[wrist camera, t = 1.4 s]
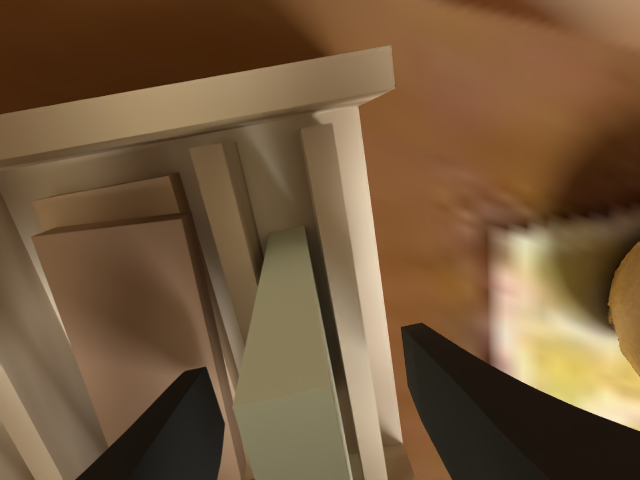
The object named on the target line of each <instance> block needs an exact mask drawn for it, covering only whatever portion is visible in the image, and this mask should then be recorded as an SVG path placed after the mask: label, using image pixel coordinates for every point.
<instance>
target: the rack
mask: <svg viewBox="0 0 640 480" xmlns="http://www.w3.org/2000/svg"><path fill="white" fill-rule="evenodd" d="M393 89H395V81H394V71H393V61H392V51H391V45H390V46H384V47H378V48H373V49H367V50H361V51H356V52H350V53H345V54H339V55H333V56H328V57H322V58H316V59H311V60H305V61H299V62H294V63H288V64H282V65H277V66H271V67H265V68H260V69H254V70H248V71H243V72H237V73H231V74H226V75H220V76H214V77H209V78H203V79H197V80H192V81H186V82H180V83H175V84H169V85H164V86H158V87H152V88H147V89H141V90H135V91H130V92H124V93H118V94H113V95H107V96H101V97H96V98H90V99H84V100H79V101H73V102H67V103H62V104H56V105H50V106H45V107H39V108H33V109H28V110H22V111H16V112H11V113H5V114H0V480H75V479H76V478H77V477H78V476H80V475H81V474H82V473H83V472H84V471H85V470H86V469H87V468H88V467H89V466H90V465H91V464H92V463H93V462H94V461H95V460H96V459H98V458H99V457H100V456H101V455H102V454H103V453H104V452H105V451H106V450H107V449H108V448H109V447H108V445H107V442H106V439H105V437H104V434H103V431H102V428H101V426H100V423H99V420H98V418H97V415H96V412H95V409H94V407H93V404H92V401H91V399H90V396H89V393H88V390H87V388H86V385H85V382H84V380H83V377H82V374H81V371H80V369H79V366H78V363H77V361H76V358H75V355H74V352H73V350H72V347H71V344H70V342H69V339H68V336H67V334H66V331H65V328H64V325H63V323H62V320H61V317H60V315H59V312H58V309H57V306H56V304H55V301H54V298H53V296H52V293H51V290H50V287H49V285H48V282H47V279H46V277H45V274H44V271H43V268H42V266H41V263H40V260H39V258H38V255H37V252H36V249H35V247H34V244H33V241H32V239H31V237H32V236H34V235H37V234H40V233H42V232H44V230H43V228H42V226H41V223H40V221H39V219H38V216H37V214H36V212H35V209H34V207H33V205H32V203H31V201H34V200H38V199H42V198H46V197H50V196H55V195H60V194H65V193H71V192H76V191H82V190H87V189H92V188H98V187H103V186H109V185H114V184H119V183H125V182H130V181H136V180H141V179H147V178H152V177H157V176H163V175H168V174H174V173H180V177H181V180H182V184H183V187H184V190H185V194H186V197H187V200H188V204H189V207H190V211H191V212H192V216H193V221H194V224H195V228H196V231H197V234H198V238H199V241H200V245H201V248H202V251H203V255H204V258H205V262H206V265H207V268H208V272H209V275H210V279H211V282H212V285H213V289H214V292H215V295H216V299H217V302H218V306H219V309H220V312H221V316H222V319H223V323H224V326H225V329H226V333H227V336H228V340H229V343H230V346H231V350H232V353H233V357H234V360H235V363H236V367H237V370H238V373H239V374H240V369H241V364H242V360H243V355H244V351H245V346H246V341H247V337H248V332H249V327H250V323H251V318H252V313H253V309H254V304H255V299H256V295H257V290H258V285H259V281H260V276H261V271H262V267H263V262H264V257H265V253H266V248H267V243H268V239H269V234H270V232H273V231H279V230H284V229H289V228H294V227H300V226H304V227H305V232H306V237H307V243H308V248H309V253H310V258H311V263H312V268H313V273H314V278H315V284H316V289H317V294H318V299H319V304H320V309H321V314H322V319H323V324H324V330H325V335H326V340H327V345H328V350H329V355H330V360H331V365H332V370H333V376H334V381H335V386H336V391H337V396H338V402H339V407H340V413H341V418H342V424H343V429H344V434H345V440H346V445H347V451H348V456H349V462H350V467H351V472H352V478H353V480H416V478H415V476H414V473H413V470H412V468H411V465H410V462H409V459H408V457H407V454H406V451H405V449H404V446H403V443H402V435H401V428H400V420H399V412H398V405H397V397H396V390H395V382H394V375H393V367H392V359H391V352H390V344H389V337H388V329H387V322H386V314H385V307H384V299H383V291H382V284H381V276H380V269H379V261H378V254H377V246H376V238H375V231H374V223H373V216H372V208H371V201H370V193H369V185H368V178H367V170H366V163H365V155H364V148H363V140H362V133H361V125H360V117H359V110H358V106H360V105H362V104H364V103H366V102H368V101H370V100H372V99H374V98H376V97H379V96H381V95H383V94H385V93H387V92H389V91H391V90H393ZM249 480H255V478H254V479H249Z"/></svg>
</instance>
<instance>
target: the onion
mask: <svg viewBox="0 0 640 480" xmlns="http://www.w3.org/2000/svg"><path fill="white" fill-rule="evenodd" d="M609 292H610V296H609V302H608V304H607V305H608V306H610V310H609V313H608V318H609V319H608V321H609V324H608V325H609V326H610V327H611V328H612V329H614V330H616V333H617V336H618V338H619V339H618V340H619V345H620V346H619V347H620V350H621V352H622V354H623V355H624V356H625V357H626V359H627V360H628V361H629V362H630V364H631V365H632V367H633V368H634V370H635V371H636V373H637V374H638V375H639V376H640V241H639V242H638V243H637V244H636V245H635V246H634V247H633V248H632V249H631V250H630V252H628V253H627V255H626V256H625V258H624V259H623V260H622V261H621V264H620V265H619V268H618V269H617V270H616V271H615V274H614V278H613V280H612V283H611V290H610V291H609ZM606 316H607V315H606ZM606 319H607V317H606ZM611 325H612V326H611Z"/></svg>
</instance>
